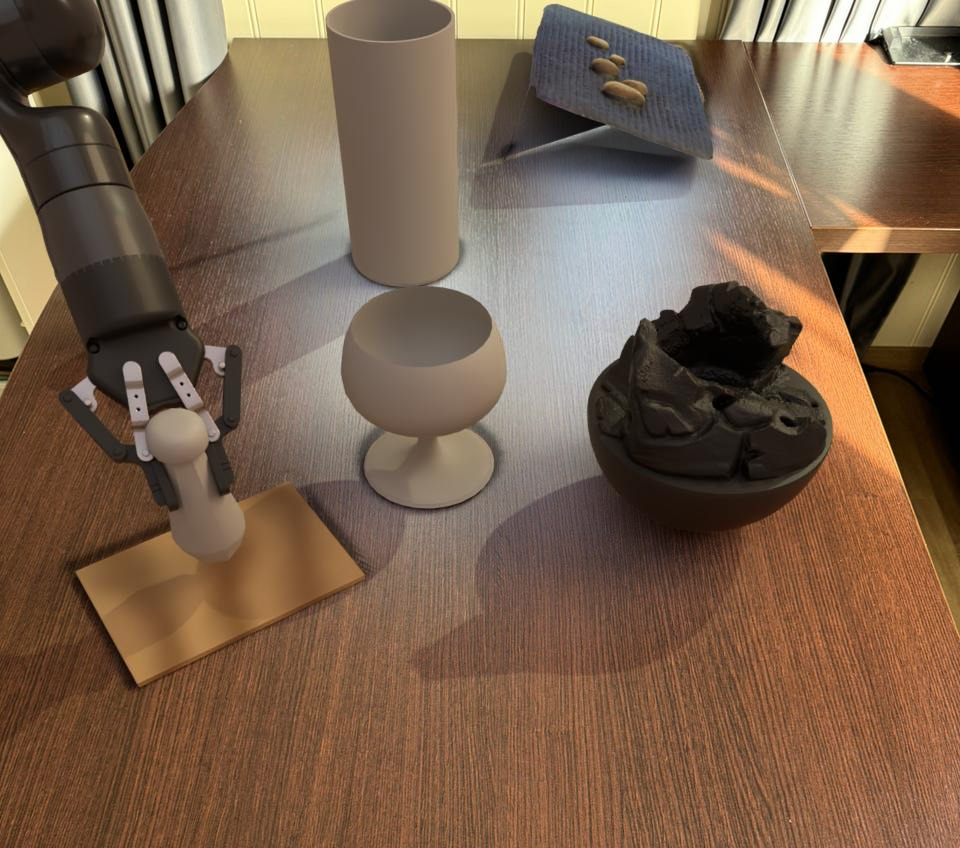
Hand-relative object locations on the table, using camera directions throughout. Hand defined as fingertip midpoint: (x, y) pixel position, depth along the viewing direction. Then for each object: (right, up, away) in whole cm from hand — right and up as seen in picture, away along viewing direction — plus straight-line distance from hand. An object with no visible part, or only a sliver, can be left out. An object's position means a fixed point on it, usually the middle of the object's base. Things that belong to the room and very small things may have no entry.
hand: (200, 501), depth 69 cm
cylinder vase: (+12, +34, +40) cm, 54 cm away
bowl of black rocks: (+40, +2, +15) cm, 43 cm away
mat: (+40, +67, +66) cm, 102 cm away
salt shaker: (-1, -3, +7) cm, 7 cm away
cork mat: (-1, -5, +9) cm, 10 cm away
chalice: (+16, +6, +18) cm, 25 cm away
